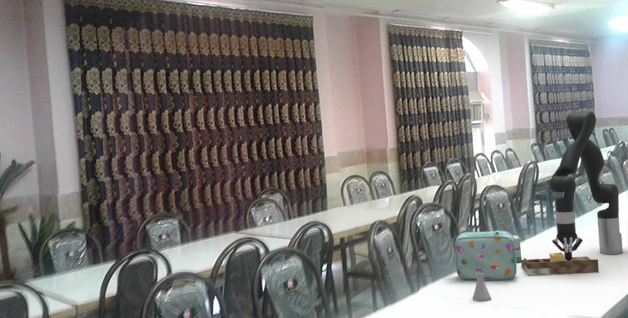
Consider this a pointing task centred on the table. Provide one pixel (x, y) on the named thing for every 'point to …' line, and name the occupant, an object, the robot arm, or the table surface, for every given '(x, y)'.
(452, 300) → the table surface
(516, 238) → the ink box
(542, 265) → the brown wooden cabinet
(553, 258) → the block
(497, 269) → the lunch box
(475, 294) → the flask
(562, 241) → the robot arm
